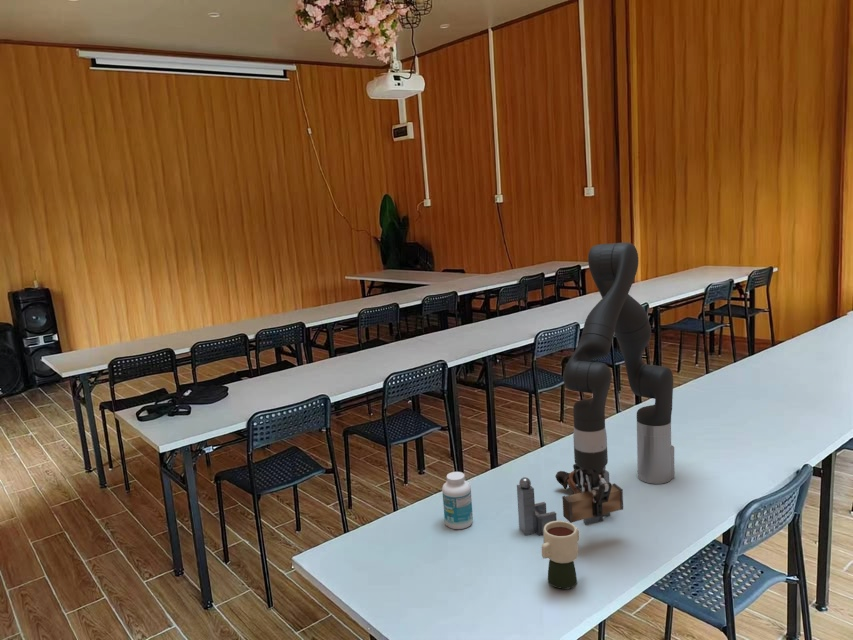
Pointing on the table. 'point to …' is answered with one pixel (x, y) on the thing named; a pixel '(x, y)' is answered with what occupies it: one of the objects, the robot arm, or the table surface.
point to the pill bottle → (457, 501)
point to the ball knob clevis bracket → (540, 509)
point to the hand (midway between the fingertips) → (593, 511)
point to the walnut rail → (590, 504)
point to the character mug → (561, 553)
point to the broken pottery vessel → (568, 480)
